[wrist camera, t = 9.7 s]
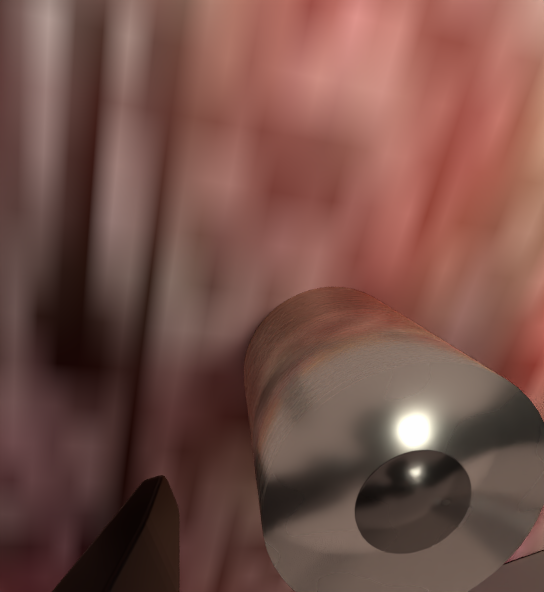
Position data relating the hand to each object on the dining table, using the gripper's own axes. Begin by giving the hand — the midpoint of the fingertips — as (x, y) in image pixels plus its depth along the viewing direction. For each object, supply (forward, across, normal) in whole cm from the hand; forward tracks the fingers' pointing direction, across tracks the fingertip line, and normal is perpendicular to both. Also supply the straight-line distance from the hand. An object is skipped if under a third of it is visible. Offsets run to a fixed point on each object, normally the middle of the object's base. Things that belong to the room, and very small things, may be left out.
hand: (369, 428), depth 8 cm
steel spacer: (+3, 0, 0) cm, 3 cm away
